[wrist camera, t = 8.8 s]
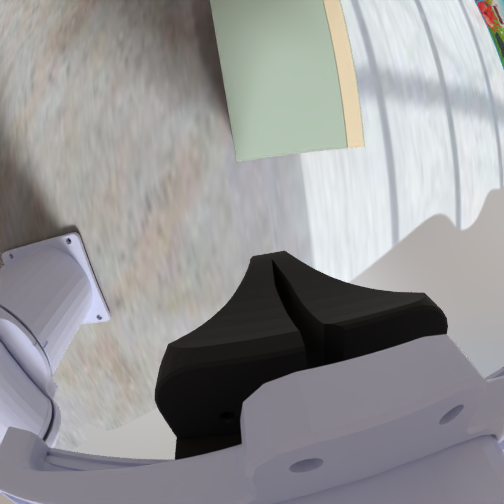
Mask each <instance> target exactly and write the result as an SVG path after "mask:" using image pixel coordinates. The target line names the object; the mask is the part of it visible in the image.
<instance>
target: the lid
mask: <svg viewBox="0 0 504 504" xmlns="http://www.w3.org/2000/svg"><path fill="white" fill-rule="evenodd" d="M210 5H211V11H212V17H213V23H214V29H215V35H216V41H217V47H218V53H219V59H220V65H221V71H222V77H223V83H224V89H225V95H226V101H227V107H228V113H229V119H230V124H231V130H232V136H233V142H234V148H235V154H236V160H237V162H242V161H248V160H254V159H261V158H267V157H274V156H281V155H289V154H297V153H305V152H313V151H322V150H332V149H343V148H357V147H365V144H364V133H363V123H362V115H361V107H360V99H359V92H358V85H357V78H356V72H355V66H354V61H353V55H352V50H351V45H350V40H349V35H348V30H347V26H346V21H345V17H344V13H343V9H342V5H341V1H340V0H210Z"/></svg>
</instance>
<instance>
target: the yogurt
mask: <svg viewBox="0 0 504 504" xmlns="http://www.w3.org/2000/svg"><path fill="white" fill-rule="evenodd" d="M476 5H477V7H478V9H479V11H480V13H481V15H482V17H483V19H484V21H485V23H486V25H487V28H488V30H489V32H490V34H491V37H492V39H493V42H494V44H495V47H496V49H497V52H498V55H499V57H500V60H501V63H502V66H503V69H504V0H478V1H476Z"/></svg>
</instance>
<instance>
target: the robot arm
mask: <svg viewBox="0 0 504 504" xmlns="http://www.w3.org/2000/svg"><path fill="white" fill-rule="evenodd" d="M68 238H69V239H70V240H71V242H69V241H68ZM12 255H13V256H12ZM2 260H3V263H4V266H2V267H1V268H0V493H1V494H3V495H4V496H5V497H7V498H8V499H10V500H11V501H13V502H14V503H16V504H504V367H502V368H501V369H499V370H497V371H496V372H494V373H493V374H491V375H489V376H487V377H486V378H484V377H483V376H482V374H481V373H480V372H479V370H478V369H477V368H476V367H475V365H474V364H473V363H472V362H471V361H470V360H469V358H468V357H467V356H466V354H465V353H464V352H463V351H462V350H461V348H460V347H459V346H458V345H457V344H456V343H455V342H454V341H453V340H452V339H451V338H450V337H449V336H448V335H447V328H448V325H447V318H446V316H445V314H444V313H443V311H442V310H441V309H440V308H439V307H438V306H437V305H436V304H435V303H434V302H433V301H432V300H431V299H430V298H429V297H428V296H427V295H426V294H425V293H412V292H410V293H409V292H391V291H383V290H375V289H370V288H366V287H361V286H357V285H353V284H350V283H346V282H344V281H341V280H338V279H335V278H333V277H330V276H328V275H326V274H323V273H321V272H319V271H317V270H315V269H313V268H312V267H310V266H308V265H306V264H305V263H303V262H301V261H300V260H298V259H297V258H295V257H293V256H292V255H290V254H289V253H287V252H286V251H280V252H275V253H269V254H263V255H257V256H253V257H252V258H251V259H250V264H249V267H248V269H247V272H246V274H245V276H244V278H243V280H242V282H241V284H240V285H239V287H238V289H237V290H236V292H235V293H234V295H233V296H232V298H231V299H230V300H229V301H228V303H227V304H226V305H225V306H224V307H223V308H222V309H221V310H220V311H219V312H217V313H216V314H215V315H214V316H213V317H212V318H211V319H209V320H208V321H207V322H206V323H204V324H203V325H201V326H200V327H198V328H197V329H195V330H194V331H192V332H191V333H189V334H187V335H185V336H183V337H181V338H179V339H178V340H176V341H174V342H172V343H170V344H168V346H167V349H166V352H165V354H164V357H163V359H162V362H161V365H160V369H159V373H158V378H157V383H156V388H155V402H156V404H157V407H158V409H159V411H160V412H161V414H162V416H163V417H164V419H165V420H166V422H167V423H168V425H169V426H170V428H171V429H172V431H173V432H174V434H175V435H176V437H177V440H176V452H175V460H156V459H132V458H119V457H107V456H99V455H90V454H84V453H78V452H71V451H66V450H60V449H55V448H54V446H55V444H56V441H57V439H58V436H59V431H60V425H61V413H60V409H59V407H58V405H57V404H56V402H55V401H54V400H53V397H54V395H55V393H56V390H57V388H58V386H57V385H56V383H55V382H54V380H53V379H52V376H53V374H54V372H55V371H56V369H57V367H58V365H59V363H60V361H61V359H62V357H63V356H64V354H65V352H66V350H67V348H68V346H69V345H70V343H71V341H72V339H73V338H74V336H75V334H76V332H77V331H78V329H79V327H80V326H81V324H86V323H96V322H105V321H108V320H109V319H110V316H111V315H110V312H109V310H108V308H107V306H106V303H105V301H104V299H103V296H102V294H101V291H100V289H99V286H98V284H97V281H96V279H95V276H94V274H93V271H92V269H91V266H90V263H89V260H88V258H87V255H86V252H85V249H84V246H83V243H82V240H81V237H80V235H79V234H78V233H76V232H72V233H69V234H65V235H61V236H57V237H54V238H50V239H46V240H43V241H39V242H36V243H32V244H29V245H25V246H22V247H19V248H15V249H12V250H9V251H5V252H4V253H2ZM98 315H100V316H101V317H99V316H98Z"/></svg>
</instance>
